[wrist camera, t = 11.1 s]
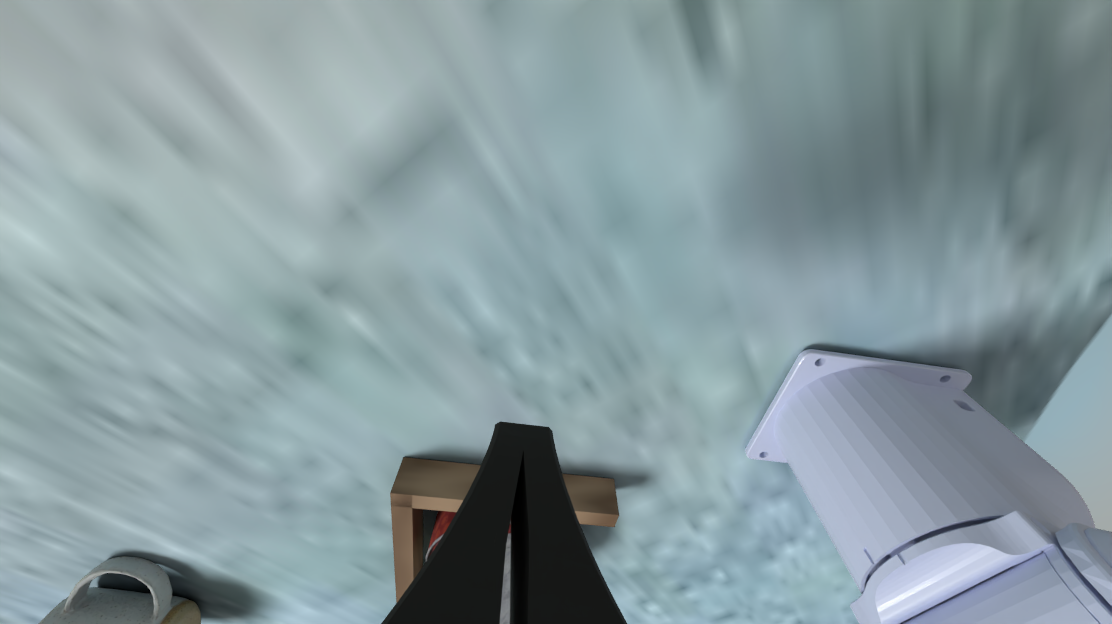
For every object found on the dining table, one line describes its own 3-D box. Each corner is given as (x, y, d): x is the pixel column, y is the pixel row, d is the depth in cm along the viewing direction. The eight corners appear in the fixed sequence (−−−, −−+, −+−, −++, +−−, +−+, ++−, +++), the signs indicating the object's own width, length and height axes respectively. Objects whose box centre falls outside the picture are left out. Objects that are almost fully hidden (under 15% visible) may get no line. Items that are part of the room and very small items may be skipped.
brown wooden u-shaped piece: (613, 479, 28) (619, 515, 26) (568, 605, 36) (569, 640, 34) (403, 457, 26) (390, 493, 24) (407, 592, 35) (397, 628, 33)
